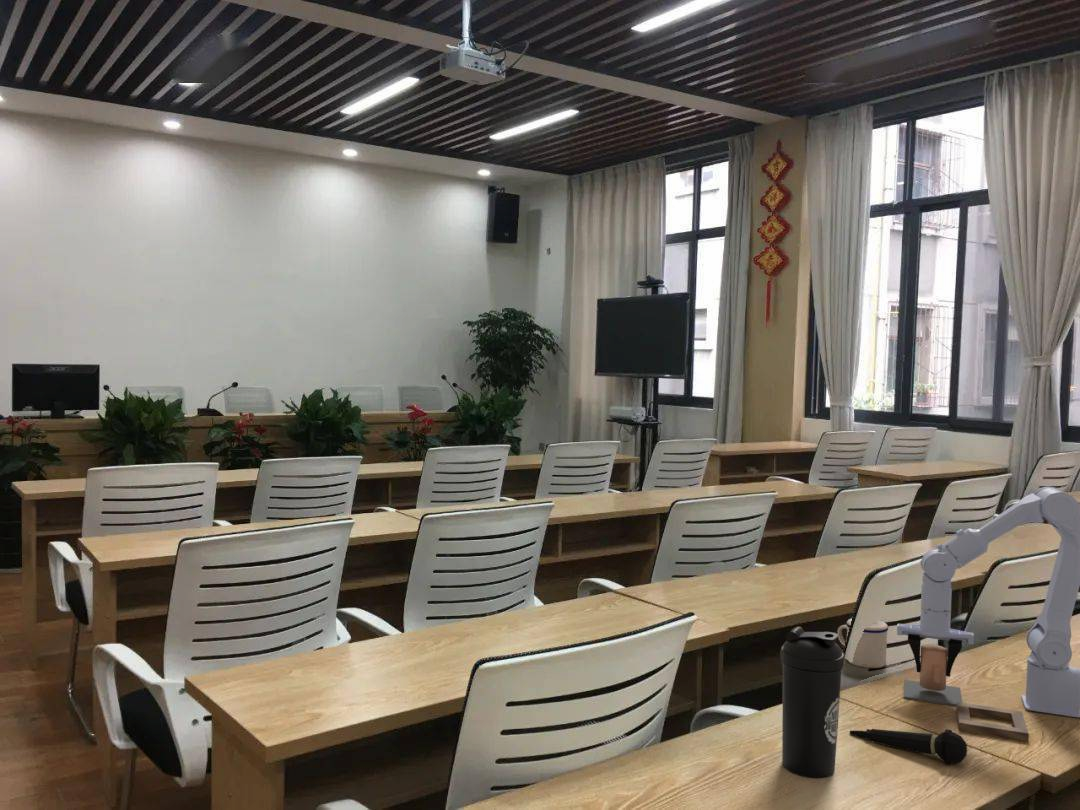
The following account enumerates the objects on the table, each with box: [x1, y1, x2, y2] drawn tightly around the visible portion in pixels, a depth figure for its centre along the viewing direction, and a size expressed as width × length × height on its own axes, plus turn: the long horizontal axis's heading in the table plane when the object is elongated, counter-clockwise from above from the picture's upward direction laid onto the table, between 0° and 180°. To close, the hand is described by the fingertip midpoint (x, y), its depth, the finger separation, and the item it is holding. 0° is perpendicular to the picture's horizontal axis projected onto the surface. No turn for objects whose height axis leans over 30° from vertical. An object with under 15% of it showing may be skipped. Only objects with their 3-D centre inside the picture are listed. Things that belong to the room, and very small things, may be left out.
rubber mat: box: [903, 679, 963, 707], centre depth 187 cm, size 11×11×1 cm
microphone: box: [849, 728, 968, 765], centre depth 159 cm, size 6×6×20 cm
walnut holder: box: [955, 702, 1030, 742], centre depth 171 cm, size 12×12×2 cm
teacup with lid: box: [837, 617, 889, 669], centre depth 207 cm, size 12×9×12 cm
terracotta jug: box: [919, 643, 948, 691], centre depth 185 cm, size 8×5×8 cm, turn 165°
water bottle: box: [780, 626, 845, 779], centre depth 151 cm, size 10×10×23 cm
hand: (933, 672), depth 187 cm, fingers closed on terracotta jug, 5 cm apart
